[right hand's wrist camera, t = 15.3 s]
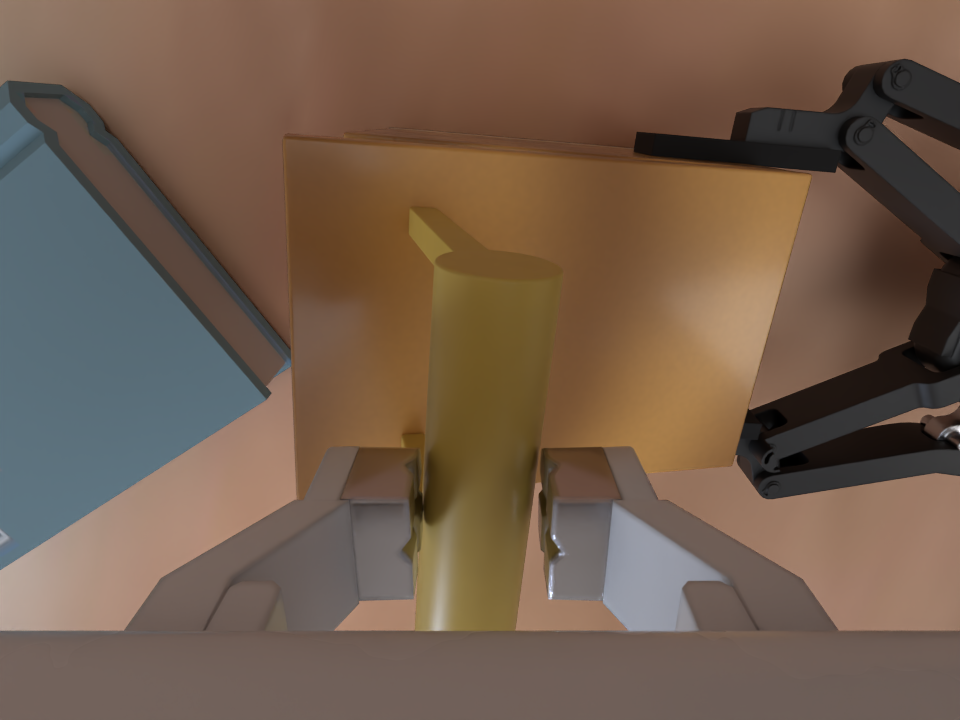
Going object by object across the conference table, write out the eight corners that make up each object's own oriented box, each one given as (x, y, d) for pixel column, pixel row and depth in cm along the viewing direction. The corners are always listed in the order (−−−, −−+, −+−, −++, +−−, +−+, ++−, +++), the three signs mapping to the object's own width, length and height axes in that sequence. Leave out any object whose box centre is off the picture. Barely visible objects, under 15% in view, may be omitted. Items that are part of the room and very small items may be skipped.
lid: (297, 481, 18) (291, 758, 11) (283, 133, 15) (258, 166, 7) (713, 450, 22) (929, 633, 15) (785, 170, 19) (1129, 217, 11)
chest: (387, 327, 32) (343, 420, 22) (392, 127, 28) (342, 131, 18) (646, 348, 32) (716, 449, 22) (684, 152, 28) (789, 170, 19)
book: (15, 542, 37) (-52, 603, 33) (-219, 337, 32) (-338, 374, 28) (297, 359, 32) (266, 399, 28) (73, 86, 27) (-10, 79, 23)
